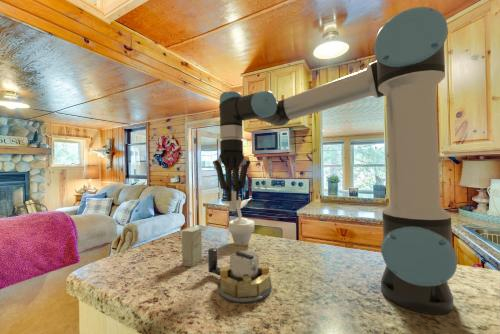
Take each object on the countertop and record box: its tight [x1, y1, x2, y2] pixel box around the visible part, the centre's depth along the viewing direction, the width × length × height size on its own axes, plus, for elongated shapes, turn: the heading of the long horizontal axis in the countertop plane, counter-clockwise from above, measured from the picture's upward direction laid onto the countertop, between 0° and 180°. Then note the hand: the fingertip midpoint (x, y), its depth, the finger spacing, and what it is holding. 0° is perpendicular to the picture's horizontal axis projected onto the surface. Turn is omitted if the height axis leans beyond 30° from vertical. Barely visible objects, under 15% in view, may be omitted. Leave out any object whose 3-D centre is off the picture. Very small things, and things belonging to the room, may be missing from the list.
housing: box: [217, 250, 273, 305], centre depth 64 cm, size 15×15×10 cm
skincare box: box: [181, 226, 203, 268], centre depth 82 cm, size 6×4×12 cm
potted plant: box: [228, 190, 255, 247], centre depth 102 cm, size 13×12×25 cm
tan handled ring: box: [207, 247, 271, 297], centre depth 66 cm, size 21×14×7 cm, turn 52°
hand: (232, 210), depth 76 cm, fingers closed
